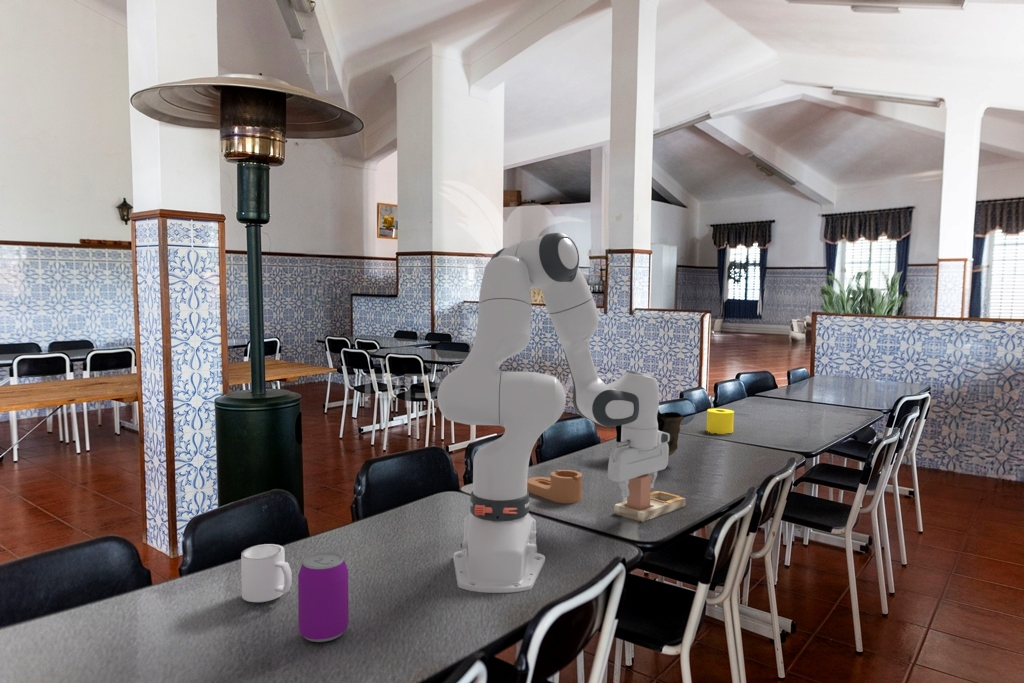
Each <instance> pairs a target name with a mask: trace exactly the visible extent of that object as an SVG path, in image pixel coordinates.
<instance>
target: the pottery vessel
mask: <svg viewBox="0 0 1024 683" xmlns="http://www.w3.org/2000/svg"><path fill="white" fill-rule="evenodd" d="M683 420H685V416H684V415H682V414H681V413H679V412H673V411H671V412H670V411H669V412H662V413H661V411H660V409H659V410H658V413H657V422H658V430H659V431H662V432H665V433H668V434H669V435H670V439H669V442H667V443H668V446H669V456H668V457H670V456H672V455H673V454H674V453H675V452H676V450H677V449H678V441H679V434H680V433H681V432H680V431H681V429H680V428H681V422H682V421H683ZM621 429H622V425H619V426H615V431H616V437H615V438H616V439H615V442H616V443H617V442H621Z"/></svg>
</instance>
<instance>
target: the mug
mask: <svg viewBox="0 0 1024 683" xmlns="http://www.w3.org/2000/svg"><path fill="white" fill-rule="evenodd" d="M285 552H286V551H285V547H283V546H282V545H280V544H275V543H264V544H257V545H253V546H250V547H248V548H245V549H244V550H242V551H241V556H240V558H241V559H240V561H241V564H240V566H241V568H240V569H241V570H240V572H241V598H242V599H243V600H244V601H247V602H249V603H250V602H251V603H264V602H270V601H273V600H276V599H277V598H280V597H282V595H284V594H285V593H287V592H289V591H290V590H291V586H292V584H293V583H292V582H293V577H292V576H293V575H292V574H293V573H292V569H291V567H290V564H289V562H287V561H286V560H285V557H286V556H285Z"/></svg>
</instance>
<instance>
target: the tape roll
mask: <svg viewBox="0 0 1024 683" xmlns="http://www.w3.org/2000/svg"><path fill="white" fill-rule="evenodd" d="M734 420H735V411H734V410H732V409H726V408H708V409H707V410H706V432H707V431H708V432H707V433H709V432H710V433H709V434H714V433H717V434H716V435H726V434H725V433H732V432H733V433H734V423H735V422H734ZM733 433H732V434H733Z"/></svg>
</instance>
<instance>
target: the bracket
mask: <svg viewBox="0 0 1024 683" xmlns="http://www.w3.org/2000/svg"><path fill="white" fill-rule="evenodd" d="M527 491H528V493H529V494H532V495H535V496H538V497H541V498H544V499H546V500H549V501H552V502H555V503H559V504H574V503H578V502H579V503H580V502H581V501H582V499H583V498H582V496H583V473H582V472H580V471H577V470H572V469H558V470H557V469H556V470H555V471H551V472H550V477H547V476H533V477H530V478H528V479H527Z"/></svg>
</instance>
